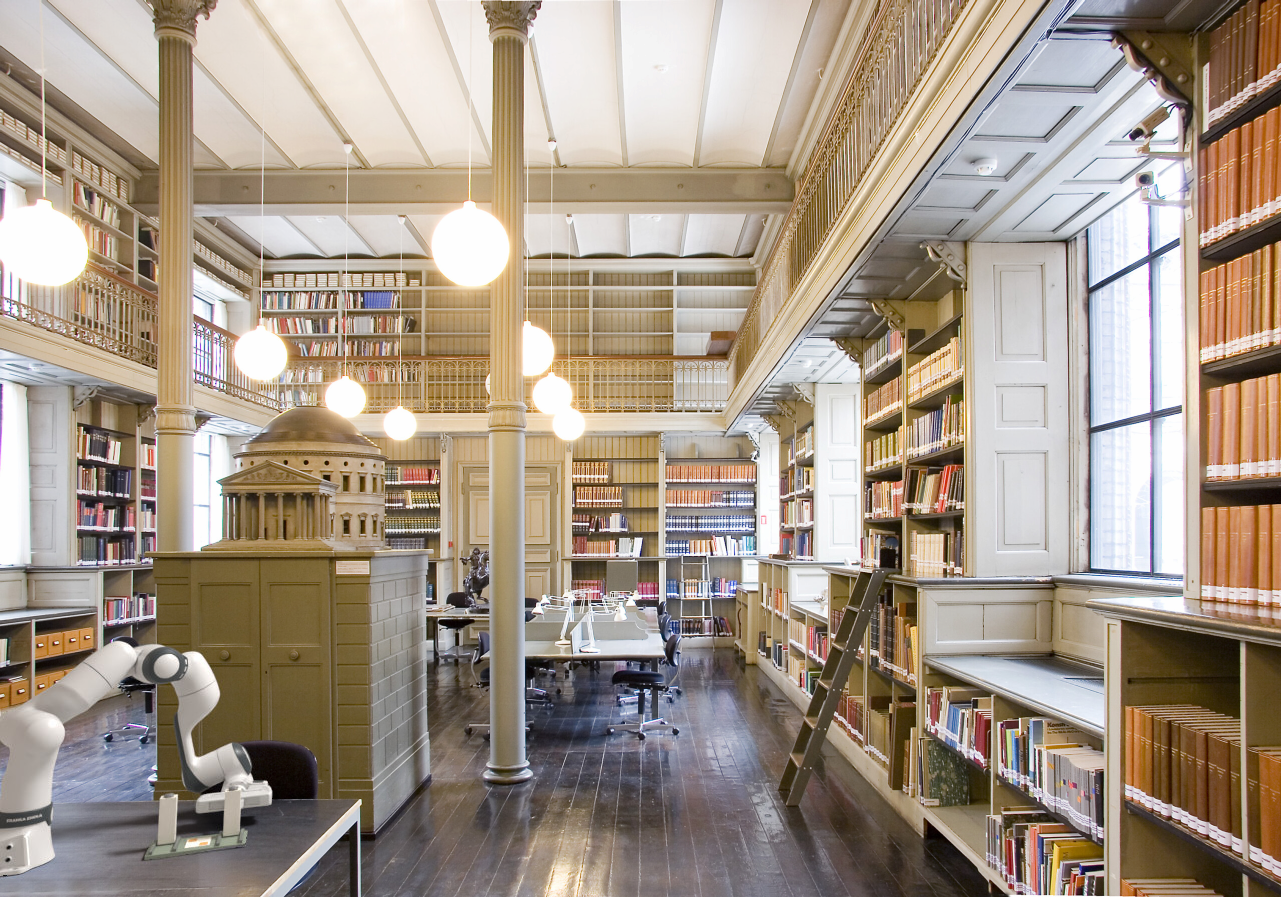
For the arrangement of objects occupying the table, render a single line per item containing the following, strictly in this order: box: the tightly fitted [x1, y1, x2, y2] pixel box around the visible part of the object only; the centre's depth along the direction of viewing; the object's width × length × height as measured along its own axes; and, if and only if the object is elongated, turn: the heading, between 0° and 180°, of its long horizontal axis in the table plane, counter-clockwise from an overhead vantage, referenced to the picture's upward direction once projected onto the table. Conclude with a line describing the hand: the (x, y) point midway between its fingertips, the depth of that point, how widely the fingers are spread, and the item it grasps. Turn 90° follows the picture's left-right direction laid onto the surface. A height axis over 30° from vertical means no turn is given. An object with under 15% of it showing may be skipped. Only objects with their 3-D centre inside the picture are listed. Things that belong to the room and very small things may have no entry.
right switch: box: [222, 786, 242, 837], centre depth 236 cm, size 3×4×13 cm
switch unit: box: [144, 827, 249, 861], centre depth 229 cm, size 11×24×2 cm, turn 112°
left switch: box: [157, 792, 179, 845], centre depth 230 cm, size 3×4×13 cm
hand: (233, 808), depth 240 cm, fingers closed
